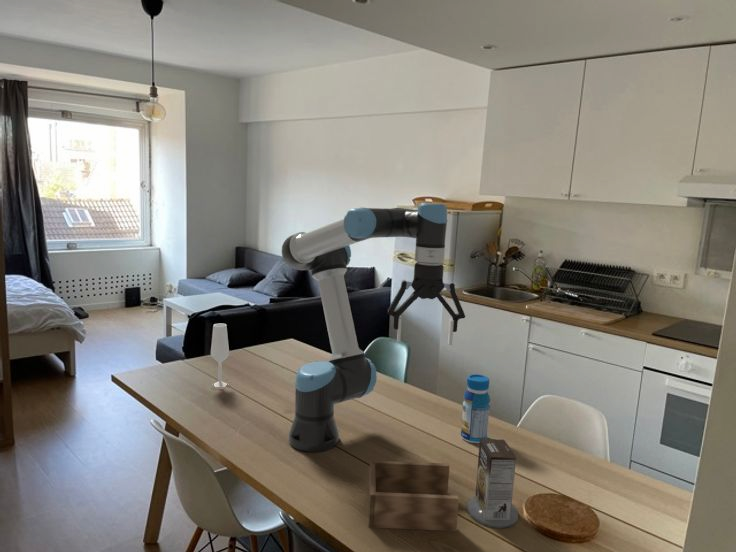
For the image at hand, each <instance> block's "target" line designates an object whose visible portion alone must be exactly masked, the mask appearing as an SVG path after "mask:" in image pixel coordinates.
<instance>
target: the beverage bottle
mask: <svg viewBox="0 0 736 552" xmlns="http://www.w3.org/2000/svg"><path fill="white" fill-rule="evenodd" d="M466 387H467V390H466V391H465V392H464V394H463V402H462V416H461V430H460V437H461V438H462V440H463V441H465V442H467V443H471V444H480V439H488V430H489V429H488V427H489V416H490V410H491V407H490V403H491V397H490V396H491V395H490V394H489V392H488V390H489V388H490V378H489V377H488V376H486V375H483V374H477V373H476V374H475V373H474V374H469V375H468V376H467V379H466Z"/></svg>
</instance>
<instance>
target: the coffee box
mask: <svg viewBox="0 0 736 552" xmlns="http://www.w3.org/2000/svg"><path fill="white" fill-rule="evenodd" d="M478 444H479V445H478V446H479V447H478V458H477V472H476V474H477V475H476V481H475V482H476V484H475V485H476V487H475V494H474V495H475V496H474V497H475V499H476V501H477V503H478V505H479V508H480V510H481V512H482V514H483V517H484V519H485V520H510V514H511V504H513V495H514V494H513V493H514V483H515V476H516V467H517V466H516V464H517V456H516V455H515V453H514V452H513V451H512V449H511V447H510V446H509V445H508V443H507V441H506V440H505V439H497V438H496V439H495V438H487V439H480V443H478Z"/></svg>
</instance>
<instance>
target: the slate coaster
mask: <svg viewBox="0 0 736 552" xmlns="http://www.w3.org/2000/svg"><path fill="white" fill-rule="evenodd" d="M466 509H467V513H468V515H469V516H470V518H471V519H473V520H474V521H475V522H476V523H478V524H480V525H482V526H486V527H489V528H492V529H493V528H494V529H506V528H509V527H512V526H514V525H516V523H517V522H518V519H519V511H518V509H517V508H516V506H515V505H514V504H513V503H512V504H511V514H510V520H485V519H484V517H483V514H482V512H481V510H480V508H479V505H478V503H477V501H476V499H475V496H474V497H472V498H471V499H469V500H468V502H467V508H466Z"/></svg>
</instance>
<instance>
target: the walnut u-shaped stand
mask: <svg viewBox="0 0 736 552" xmlns="http://www.w3.org/2000/svg"><path fill="white" fill-rule="evenodd" d="M369 462H370V465H369V467H370V468H369V481H368V482H369V485H368V487H369V488H368V528H382V529H398V530H399V529H402V530H403V529H404V530H424V531H425V530H426V531H428V530H429V531H445V532H446V531H447V532H448V531H449V532H451V531H452V532H453V531H454V532H456V531H457V526H458V516H459V514H458V512H459V502H460V499H459V495H448V493H449V491H448V489H449V481H450V480H449V478H450V477H449V476H450V463H442V462H441V463H438V462H416V461H414V462H413V461H394V460H373V459H372V460H369Z"/></svg>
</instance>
